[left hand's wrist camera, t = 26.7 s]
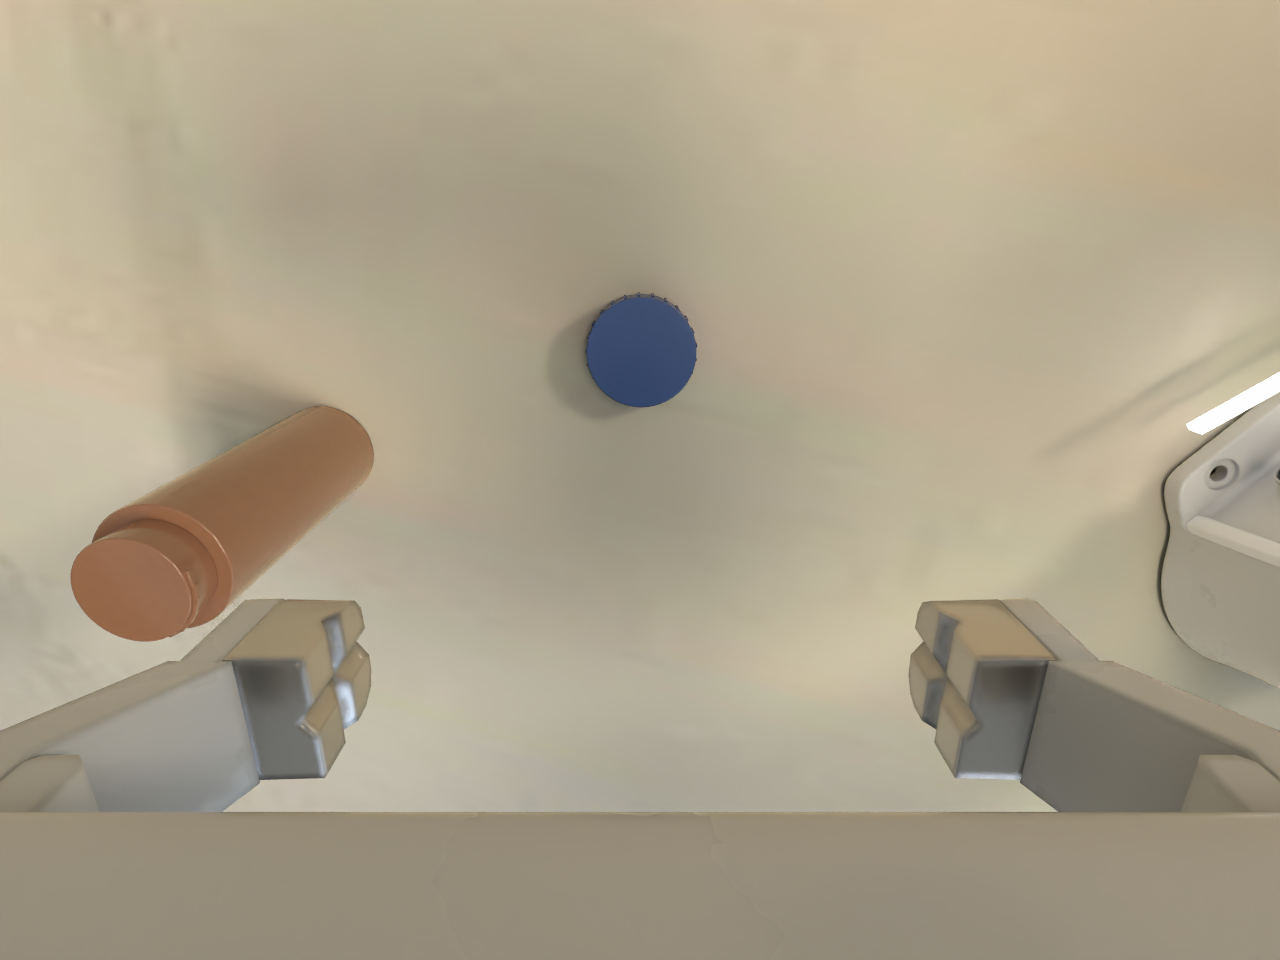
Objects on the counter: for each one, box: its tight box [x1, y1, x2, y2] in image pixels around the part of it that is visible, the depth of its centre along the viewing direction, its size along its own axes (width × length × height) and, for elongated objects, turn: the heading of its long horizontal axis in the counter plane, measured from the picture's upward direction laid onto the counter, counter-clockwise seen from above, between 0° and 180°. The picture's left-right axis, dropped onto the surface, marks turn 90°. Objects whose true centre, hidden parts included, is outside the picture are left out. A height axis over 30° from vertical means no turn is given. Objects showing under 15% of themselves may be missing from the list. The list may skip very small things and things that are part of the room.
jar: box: [71, 406, 373, 641], centre depth 29 cm, size 5×5×15 cm
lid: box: [586, 292, 697, 407], centre depth 34 cm, size 5×5×2 cm
